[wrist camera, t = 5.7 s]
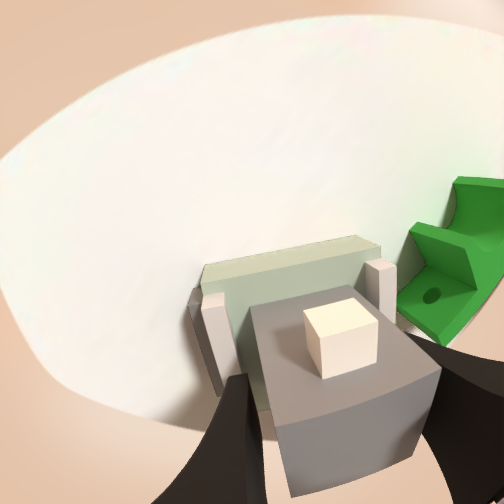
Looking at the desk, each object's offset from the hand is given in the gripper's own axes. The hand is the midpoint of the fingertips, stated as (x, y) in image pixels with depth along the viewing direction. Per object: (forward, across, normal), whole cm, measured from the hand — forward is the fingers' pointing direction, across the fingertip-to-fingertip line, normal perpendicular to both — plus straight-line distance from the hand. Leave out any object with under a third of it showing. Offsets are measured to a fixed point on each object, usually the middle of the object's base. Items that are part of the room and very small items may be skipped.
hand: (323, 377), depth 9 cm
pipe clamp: (+5, -10, -3) cm, 12 cm away
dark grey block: (+2, 0, 0) cm, 2 cm away
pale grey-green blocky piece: (+5, 0, 0) cm, 5 cm away
